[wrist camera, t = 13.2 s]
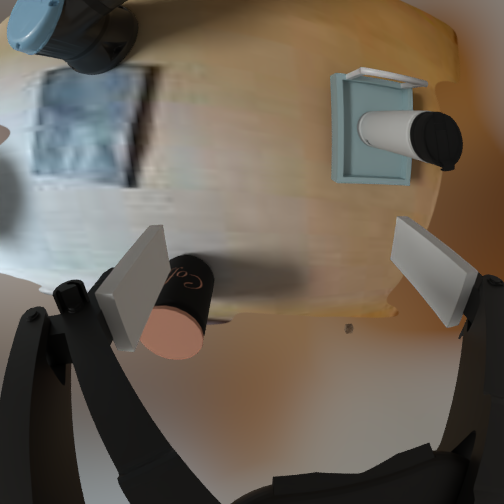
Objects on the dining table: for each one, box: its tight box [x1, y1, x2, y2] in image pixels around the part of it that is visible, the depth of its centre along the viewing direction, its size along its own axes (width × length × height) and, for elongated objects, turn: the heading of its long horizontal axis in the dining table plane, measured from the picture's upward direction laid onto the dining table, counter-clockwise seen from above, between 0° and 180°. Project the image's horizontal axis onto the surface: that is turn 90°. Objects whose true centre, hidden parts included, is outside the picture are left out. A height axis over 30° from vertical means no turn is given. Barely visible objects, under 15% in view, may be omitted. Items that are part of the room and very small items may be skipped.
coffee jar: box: [140, 255, 214, 360], centre depth 48 cm, size 11×11×18 cm
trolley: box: [330, 67, 428, 186], centre depth 38 cm, size 18×14×12 cm
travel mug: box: [357, 110, 463, 171], centre depth 31 cm, size 6×7×20 cm
